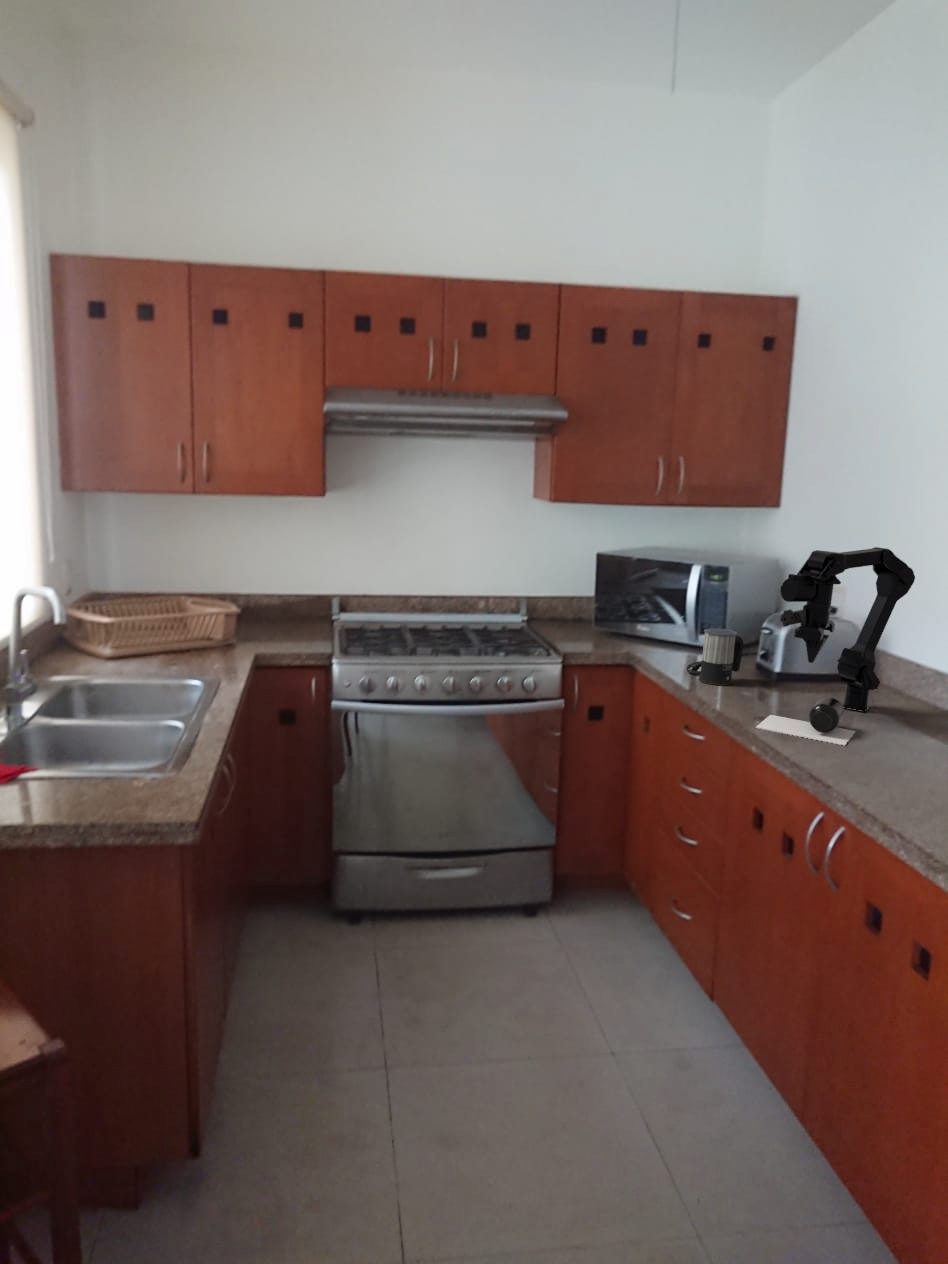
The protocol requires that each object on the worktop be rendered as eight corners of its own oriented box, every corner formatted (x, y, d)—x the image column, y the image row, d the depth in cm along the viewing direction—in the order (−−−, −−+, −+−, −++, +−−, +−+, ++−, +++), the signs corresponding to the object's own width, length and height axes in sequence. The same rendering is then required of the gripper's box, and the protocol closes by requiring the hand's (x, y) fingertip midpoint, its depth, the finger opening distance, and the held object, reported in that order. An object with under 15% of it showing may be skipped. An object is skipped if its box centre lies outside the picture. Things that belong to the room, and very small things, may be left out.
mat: (770, 715, 229) (770, 714, 229) (855, 732, 219) (855, 731, 219) (755, 728, 217) (755, 727, 217) (844, 746, 207) (844, 744, 207)
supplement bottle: (816, 693, 224) (808, 704, 213) (846, 700, 221) (839, 710, 210) (811, 720, 225) (803, 732, 215) (841, 727, 222) (834, 739, 212)
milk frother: (723, 688, 255) (729, 635, 252) (671, 677, 265) (676, 626, 262) (743, 680, 266) (749, 630, 264) (692, 669, 276) (698, 621, 273)
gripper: (794, 593, 241) (786, 651, 244) (777, 601, 225) (769, 662, 228) (838, 599, 236) (830, 658, 239) (824, 607, 220) (815, 670, 223)
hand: (810, 662), depth 232 cm, fingers closed
